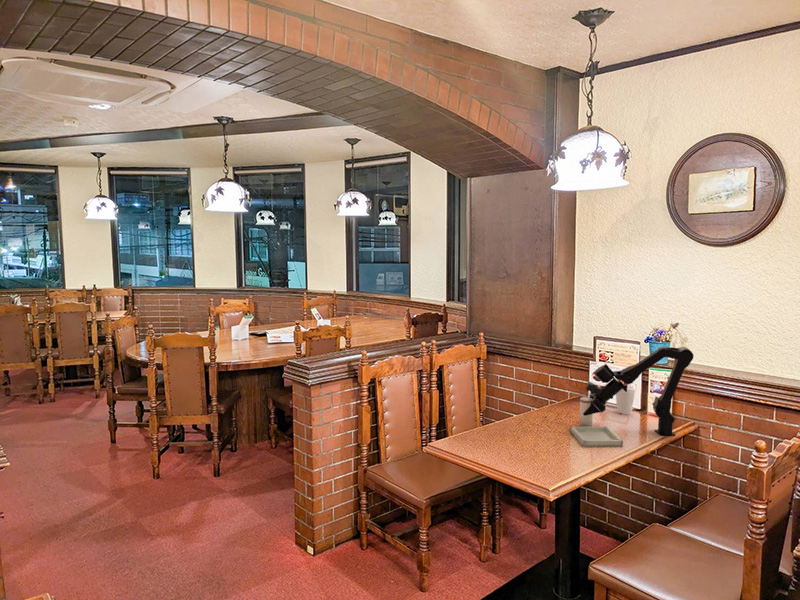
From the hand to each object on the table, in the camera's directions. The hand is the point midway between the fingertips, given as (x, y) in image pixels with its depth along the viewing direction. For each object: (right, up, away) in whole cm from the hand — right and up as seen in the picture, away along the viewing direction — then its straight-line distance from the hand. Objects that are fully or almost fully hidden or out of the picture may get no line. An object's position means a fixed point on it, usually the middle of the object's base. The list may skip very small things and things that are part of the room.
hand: (583, 411), depth 256 cm
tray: (0, -9, -16) cm, 18 cm away
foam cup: (+27, -5, +21) cm, 35 cm away
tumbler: (+1, -7, 0) cm, 7 cm away
